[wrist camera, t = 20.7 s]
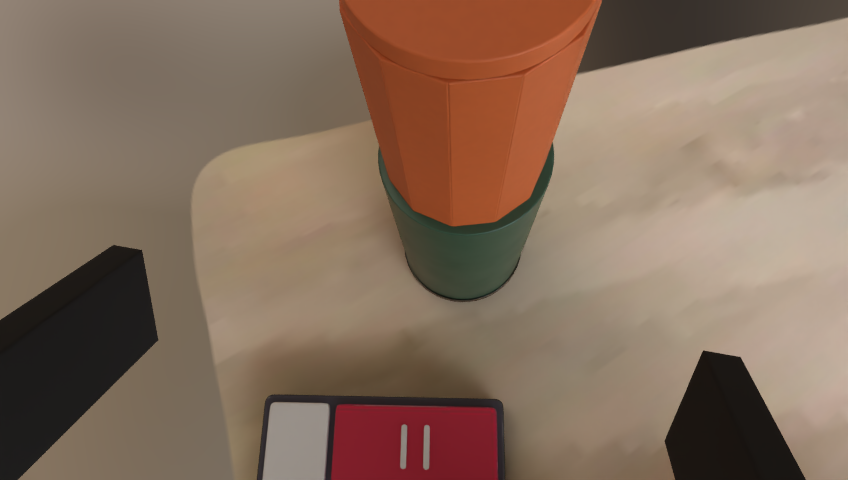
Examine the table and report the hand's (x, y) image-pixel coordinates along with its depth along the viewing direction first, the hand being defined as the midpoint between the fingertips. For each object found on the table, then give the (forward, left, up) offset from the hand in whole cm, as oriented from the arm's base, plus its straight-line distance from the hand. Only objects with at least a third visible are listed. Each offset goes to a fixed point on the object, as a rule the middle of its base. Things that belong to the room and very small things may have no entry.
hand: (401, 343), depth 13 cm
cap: (+3, -10, -10) cm, 15 cm away
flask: (+3, -10, -25) cm, 27 cm away
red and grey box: (+1, +7, -26) cm, 26 cm away
